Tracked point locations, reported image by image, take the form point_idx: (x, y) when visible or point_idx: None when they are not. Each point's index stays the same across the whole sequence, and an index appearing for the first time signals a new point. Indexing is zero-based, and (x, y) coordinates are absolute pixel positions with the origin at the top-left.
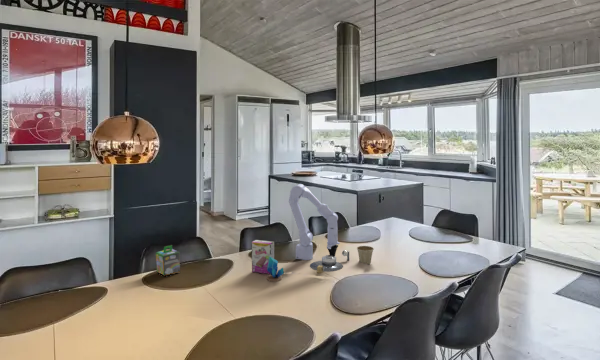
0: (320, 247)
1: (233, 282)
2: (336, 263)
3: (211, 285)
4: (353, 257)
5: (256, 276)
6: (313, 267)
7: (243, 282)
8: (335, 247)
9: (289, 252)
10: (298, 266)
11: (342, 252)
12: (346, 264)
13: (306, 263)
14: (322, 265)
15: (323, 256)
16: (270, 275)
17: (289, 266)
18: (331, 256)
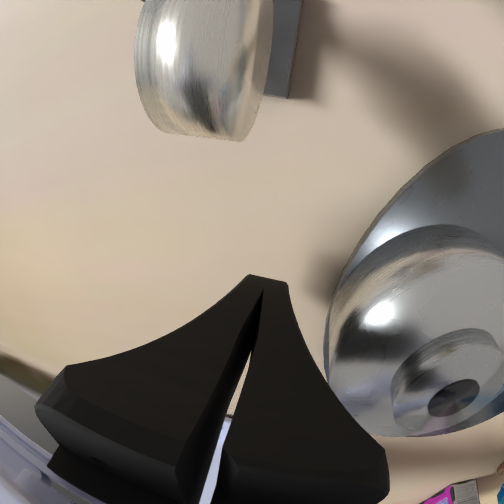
0: (7, 341)
1: (490, 492)
2: (454, 222)
3: (485, 501)
4: (58, 39)
5: None
6: (500, 404)
7: (501, 483)
8: (346, 495)
9: None
10: (409, 459)
11: (234, 130)
12: (381, 57)
13: None
14: None
15: (373, 431)
16: (501, 474)
17: (398, 478)
18: (490, 365)
